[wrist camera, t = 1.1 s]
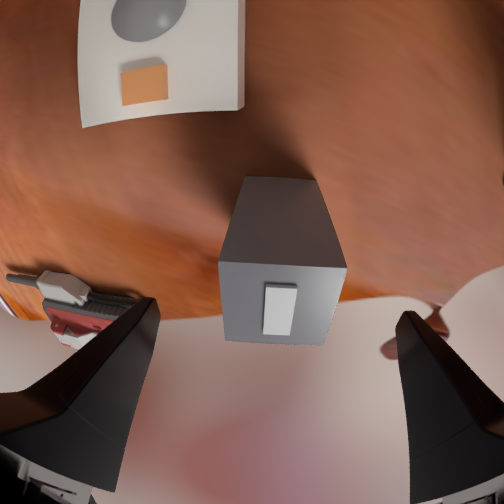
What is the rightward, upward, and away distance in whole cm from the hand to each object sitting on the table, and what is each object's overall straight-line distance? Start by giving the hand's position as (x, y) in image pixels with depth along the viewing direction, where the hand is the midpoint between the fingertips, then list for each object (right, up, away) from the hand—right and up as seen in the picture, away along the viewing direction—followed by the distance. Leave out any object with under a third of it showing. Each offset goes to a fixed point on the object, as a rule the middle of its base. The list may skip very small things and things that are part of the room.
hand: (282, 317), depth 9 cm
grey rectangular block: (+1, +5, +7) cm, 8 cm away
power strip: (-5, +21, -4) cm, 22 cm away
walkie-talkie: (-19, -3, +15) cm, 24 cm away
